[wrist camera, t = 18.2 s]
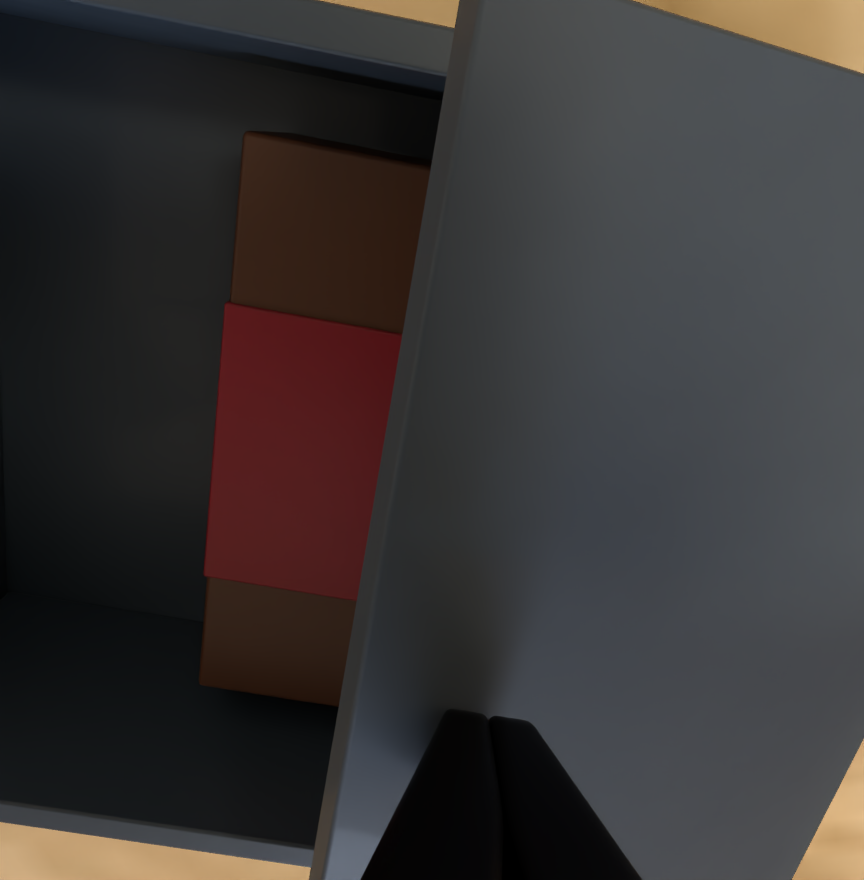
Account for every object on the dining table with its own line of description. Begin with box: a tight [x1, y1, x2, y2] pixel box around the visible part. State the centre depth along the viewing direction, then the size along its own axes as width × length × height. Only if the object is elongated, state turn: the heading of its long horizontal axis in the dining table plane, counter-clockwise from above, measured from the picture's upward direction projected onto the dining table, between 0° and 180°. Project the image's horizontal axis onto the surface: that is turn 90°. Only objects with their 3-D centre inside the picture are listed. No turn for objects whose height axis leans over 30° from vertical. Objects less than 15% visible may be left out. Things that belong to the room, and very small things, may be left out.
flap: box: [309, 0, 864, 880], centre depth 9 cm, size 13×8×1 cm, turn 170°
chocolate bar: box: [199, 131, 432, 707], centre depth 14 cm, size 4×10×3 cm, turn 170°
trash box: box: [0, 0, 455, 867], centre depth 13 cm, size 13×16×6 cm
